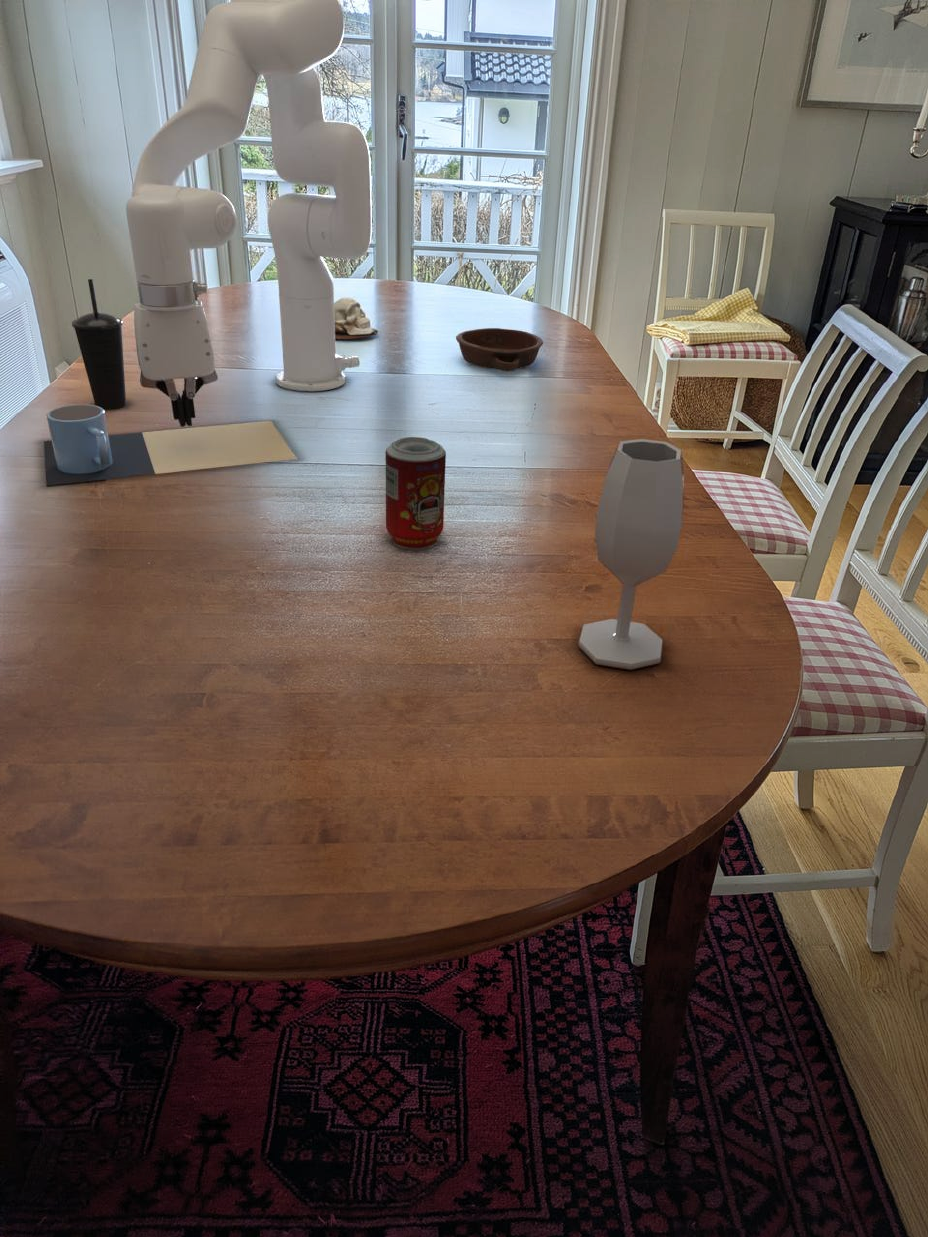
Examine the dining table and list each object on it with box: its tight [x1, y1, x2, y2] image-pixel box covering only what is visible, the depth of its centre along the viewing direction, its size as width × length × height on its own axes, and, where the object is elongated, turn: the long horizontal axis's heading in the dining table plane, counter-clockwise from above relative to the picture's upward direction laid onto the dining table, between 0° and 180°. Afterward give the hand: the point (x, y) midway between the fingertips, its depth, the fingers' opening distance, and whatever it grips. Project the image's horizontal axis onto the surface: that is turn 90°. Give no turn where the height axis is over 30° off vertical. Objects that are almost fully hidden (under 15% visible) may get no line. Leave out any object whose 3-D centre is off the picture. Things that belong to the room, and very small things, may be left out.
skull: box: [334, 297, 379, 340], centre depth 197 cm, size 12×10×10 cm
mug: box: [46, 404, 113, 474], centre depth 125 cm, size 11×7×8 cm
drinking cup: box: [71, 278, 127, 411], centre depth 146 cm, size 8×8×20 cm
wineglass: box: [577, 438, 685, 671], centre depth 86 cm, size 9×9×21 cm
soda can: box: [384, 436, 447, 551], centre depth 108 cm, size 7×7×12 cm
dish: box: [455, 327, 544, 372], centre depth 182 cm, size 18×22×5 cm
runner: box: [43, 420, 298, 488], centre depth 134 cm, size 34×18×1 cm, turn 113°
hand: (185, 423), depth 133 cm, fingers closed
